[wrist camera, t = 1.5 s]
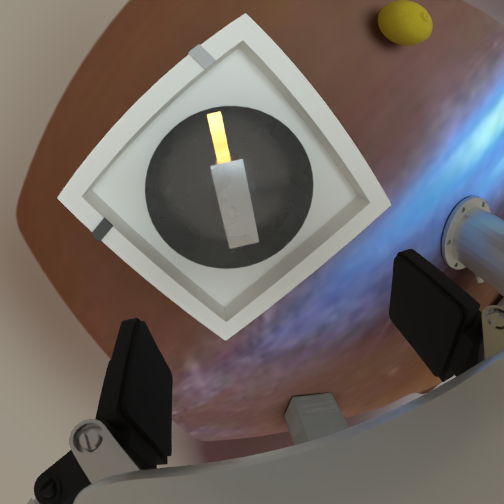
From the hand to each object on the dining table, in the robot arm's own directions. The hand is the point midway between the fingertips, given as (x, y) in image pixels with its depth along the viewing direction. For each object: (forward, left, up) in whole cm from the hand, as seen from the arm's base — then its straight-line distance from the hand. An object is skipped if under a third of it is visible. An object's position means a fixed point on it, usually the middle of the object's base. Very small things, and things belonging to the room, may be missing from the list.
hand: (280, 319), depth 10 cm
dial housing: (0, 0, -23) cm, 23 cm away
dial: (0, 0, -20) cm, 20 cm away
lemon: (+3, -27, -23) cm, 35 cm away
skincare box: (-39, +16, -23) cm, 48 cm away
